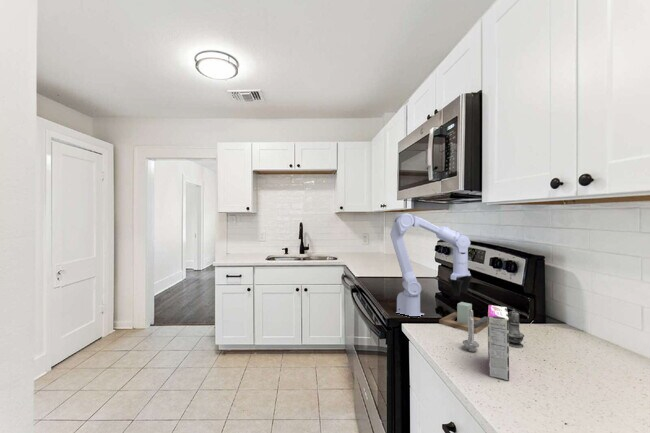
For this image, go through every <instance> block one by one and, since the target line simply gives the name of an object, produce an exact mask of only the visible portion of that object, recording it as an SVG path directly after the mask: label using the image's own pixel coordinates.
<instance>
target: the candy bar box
mask: <svg viewBox="0 0 650 433" xmlns="http://www.w3.org/2000/svg"><path fill="white" fill-rule="evenodd" d="M487 317H488V326H487V360H488V361H487V363H488V376H489V377H491V378H493V377H494V378H493V379H498V378H499V380H503V381H507V380H508V381H510V346H509V312H508V308H507V306H499V305H495V304H494V305H493V304H488V310H487Z"/></svg>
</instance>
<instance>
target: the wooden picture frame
mask: <svg viewBox="0 0 650 433" xmlns="http://www.w3.org/2000/svg"><path fill="white" fill-rule="evenodd" d="M456 318H457V312H452V313H450V314H448V315H445V316H444V317H442V318H440V319H438V324H440V325H442V326H443V325H444V326H447V327H449V328H450V327H451V328H453V329H456V330H457V329H458V330H462V331H464V332H468V325H467V324H464V323H460V322H457V320H456V321H455V319H456ZM473 318H474V319H473V320H474V323H475V322H476V321H478V320H480V319H481V318H482V317H481V318H480V317H476V316H473ZM485 328H488V321H487V322H486V323H484V324H483V325H481V326H479V327H478V328H476V329H475V328H474V335H475V334H476V335H477V334H478V333H480V332H481V331H482V330H484V329H485Z"/></svg>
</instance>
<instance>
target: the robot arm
mask: <svg viewBox="0 0 650 433" xmlns="http://www.w3.org/2000/svg"><path fill="white" fill-rule="evenodd" d="M412 227H415V228H416V227H420V228H422V229H425V230H427V231H428V232H431V233H433V234H435V235H436V237H437V239H439V240H442V241H443V242H445V243H447V244H449V245H452V246H453V247H452V248H453V249H452V250H453V252H452V254H453V255H452V256H453V259H452V262H453V264H452V265H453V266H452V268H453V269H452V271H453V272H452V273H451V274H450V277H449V278H448V280H447V281H448V283H449V284H450V286H451V290H452V293H453V294H452V295H453V296H455V297H460V295H461V293H462V294H463V293H464V294H467V293H468V290H469V287H470V283H471V281H472V280H473V276H472V274H471V272H470V270H469V251H468V250H469V247H470V246H471V243H472V242H471V241H470V238H469V237H468V236H467V235H466V234H465V235H464V234H460V231H455V230H453V229H451V228H450V226H448V225H445V226H444V225H441V226H437V225H436V224H433V223H432V222H430V221H428V220H426V219H424V218H421V217H419V216H416V215H413V214H411V213H407V212H405V213H399V214H398V215H397V216H396V217H395V218H394V220H393V224H392V227H391V231H390V233H389V234H390V239H391V242H392V245H393V249H394V252H395V255H396V259H397V262H398V265H399V268H400V271H401V277H402V283H401V284H402V287H403V288H404V289H403V291H401V292H399V293H398V294H397V297H396V312H395V314H396V313H400V314H405V315H409V316H420V317H422V316H421V315H423V316H424V315H425V313H423V312H421V292H422V285H421V283H419V281H418V279H417V277H416V275H415V272H414V270H413V266H412V264H411V259H410V257H409V254H408V250H407V246H406V244H405V241H404V235H405V234H406V232H407V231H408V230H409V229H410V228H412ZM400 314H399V315H400Z"/></svg>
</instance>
